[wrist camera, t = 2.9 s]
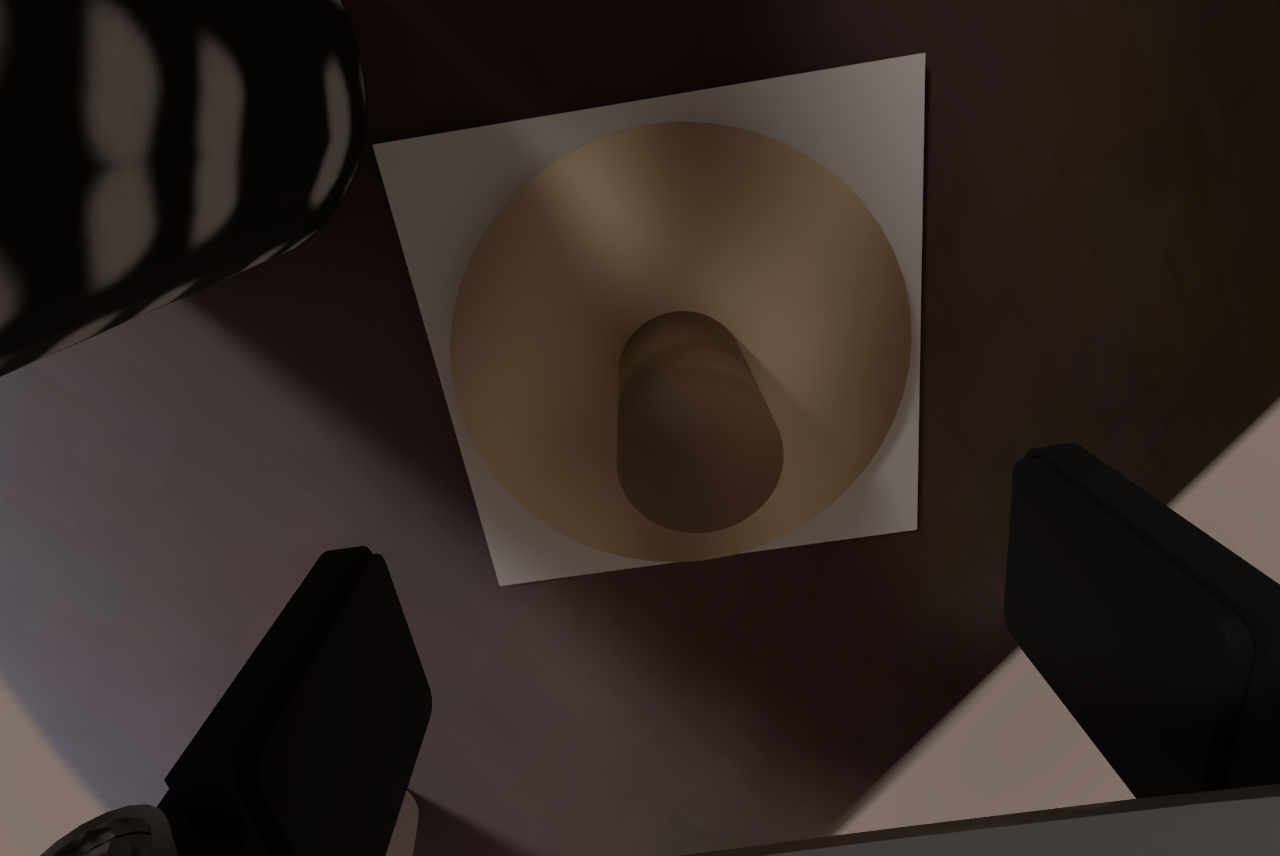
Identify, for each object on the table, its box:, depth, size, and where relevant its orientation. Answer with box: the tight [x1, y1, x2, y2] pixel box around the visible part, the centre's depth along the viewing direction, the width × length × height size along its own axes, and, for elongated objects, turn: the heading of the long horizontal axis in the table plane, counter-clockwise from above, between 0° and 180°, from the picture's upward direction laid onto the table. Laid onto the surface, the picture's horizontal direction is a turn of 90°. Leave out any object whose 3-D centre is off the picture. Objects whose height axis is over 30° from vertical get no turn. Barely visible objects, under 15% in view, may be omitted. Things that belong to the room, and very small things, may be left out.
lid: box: [450, 122, 912, 562], centre depth 15 cm, size 11×11×6 cm
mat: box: [373, 53, 925, 586], centre depth 18 cm, size 12×12×1 cm
